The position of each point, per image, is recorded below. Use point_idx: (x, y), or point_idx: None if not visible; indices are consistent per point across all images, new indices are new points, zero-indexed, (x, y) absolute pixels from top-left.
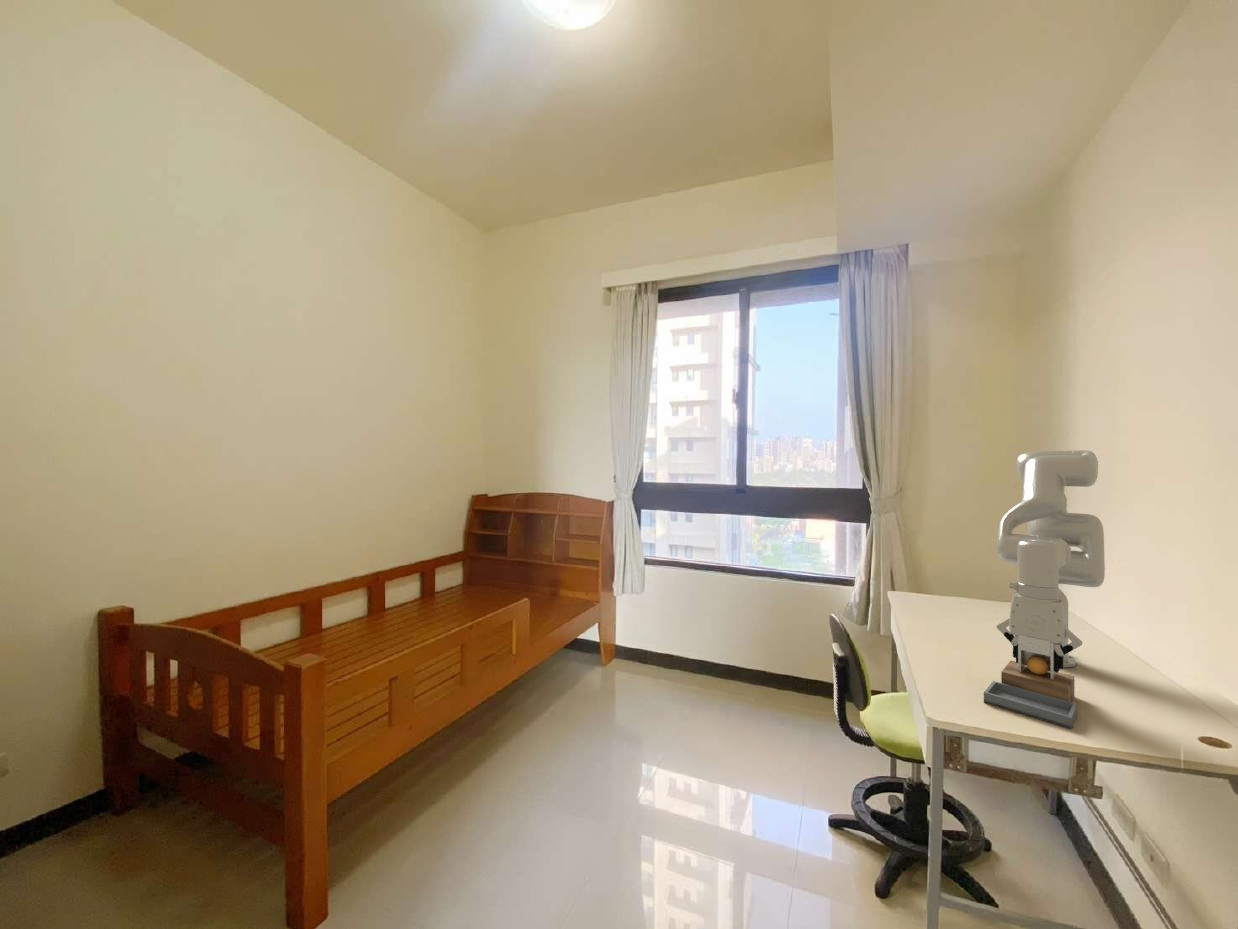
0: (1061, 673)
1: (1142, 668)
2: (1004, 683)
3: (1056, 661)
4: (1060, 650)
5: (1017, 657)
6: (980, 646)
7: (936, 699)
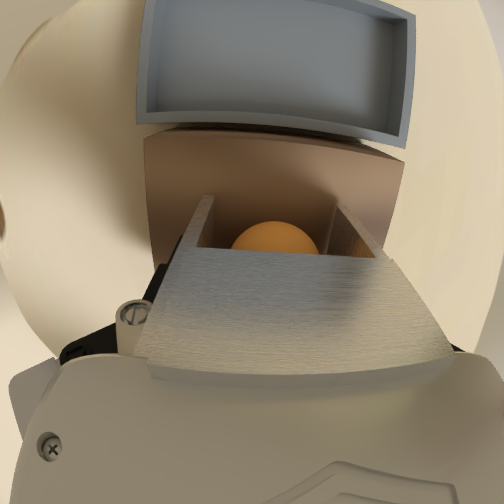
0: None
1: None
2: (373, 149)
3: None
4: (126, 333)
5: None
6: None
7: (471, 8)
